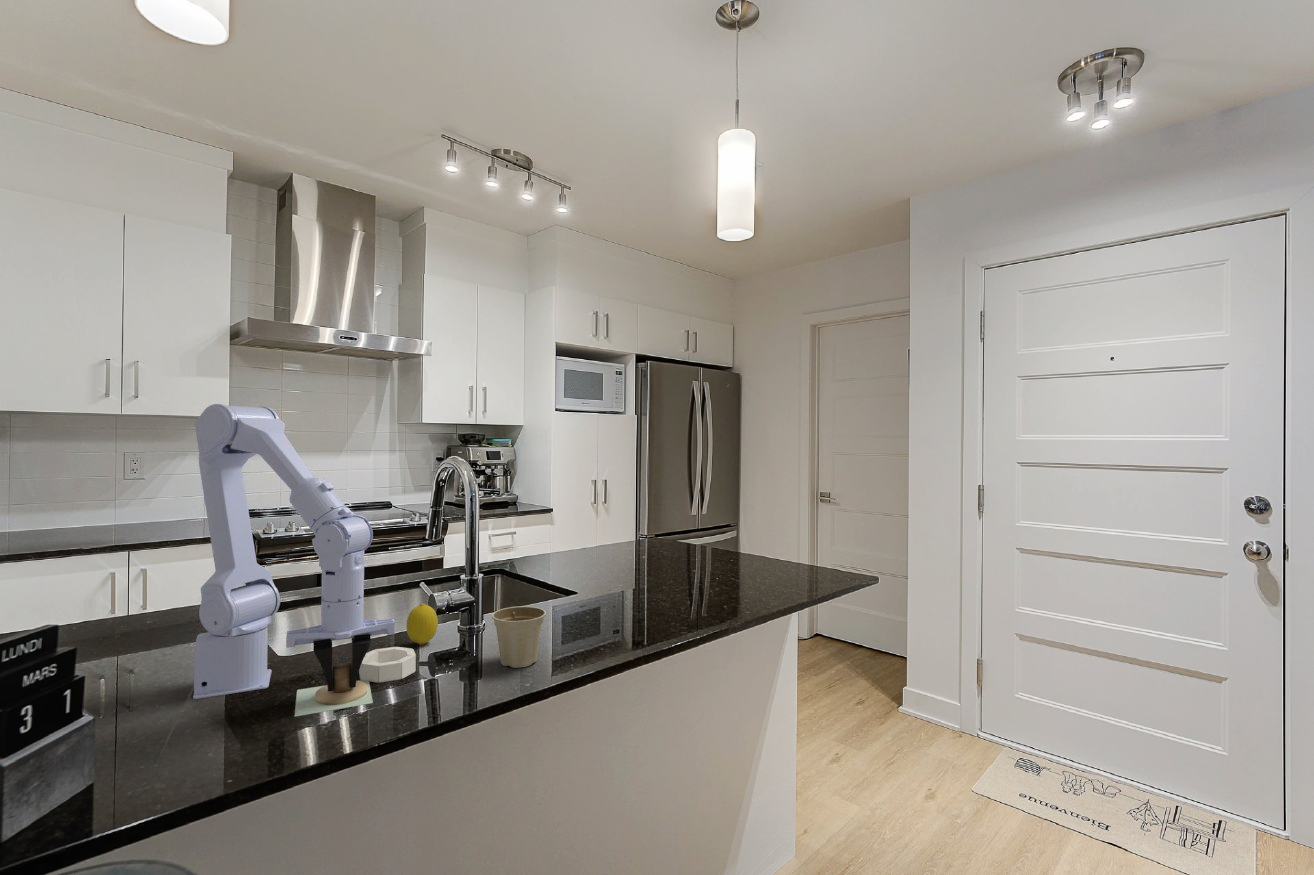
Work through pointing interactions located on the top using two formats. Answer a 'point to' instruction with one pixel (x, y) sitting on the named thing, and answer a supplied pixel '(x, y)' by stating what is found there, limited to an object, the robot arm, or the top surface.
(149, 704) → the top surface
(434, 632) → the lemon
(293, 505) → the robot arm
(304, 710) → the mat
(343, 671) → the lid
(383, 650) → the bowl
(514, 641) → the flower pot
